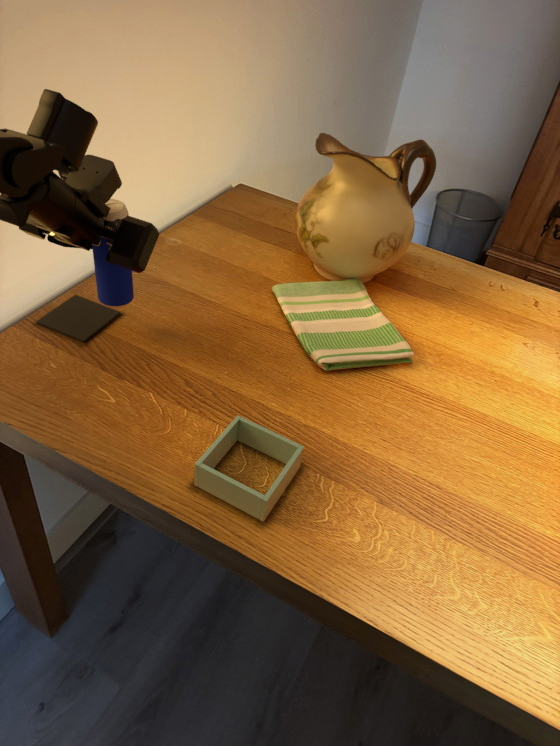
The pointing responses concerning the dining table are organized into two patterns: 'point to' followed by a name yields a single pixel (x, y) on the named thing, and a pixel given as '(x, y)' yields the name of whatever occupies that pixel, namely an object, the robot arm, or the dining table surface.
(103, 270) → the beverage can
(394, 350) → the dish towel
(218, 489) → the tray
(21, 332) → the dining table surface
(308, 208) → the pitcher
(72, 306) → the mat
